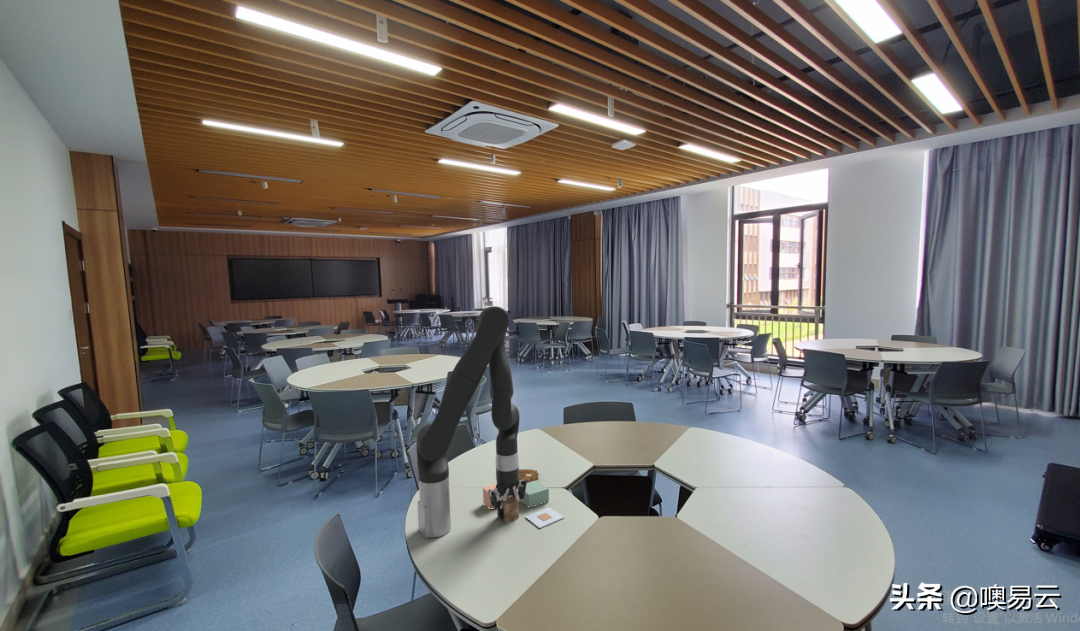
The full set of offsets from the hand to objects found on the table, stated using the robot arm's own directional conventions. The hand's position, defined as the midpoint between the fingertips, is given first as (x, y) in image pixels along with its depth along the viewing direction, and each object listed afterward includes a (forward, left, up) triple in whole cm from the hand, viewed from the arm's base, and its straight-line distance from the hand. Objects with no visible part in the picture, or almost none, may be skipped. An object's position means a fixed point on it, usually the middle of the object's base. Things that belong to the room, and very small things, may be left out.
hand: (508, 514), depth 144 cm
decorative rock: (+18, +20, -1) cm, 27 cm away
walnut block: (0, 0, -1) cm, 1 cm away
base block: (+13, +4, -1) cm, 14 cm away
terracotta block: (0, +10, -1) cm, 10 cm away
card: (+9, -8, -1) cm, 12 cm away
